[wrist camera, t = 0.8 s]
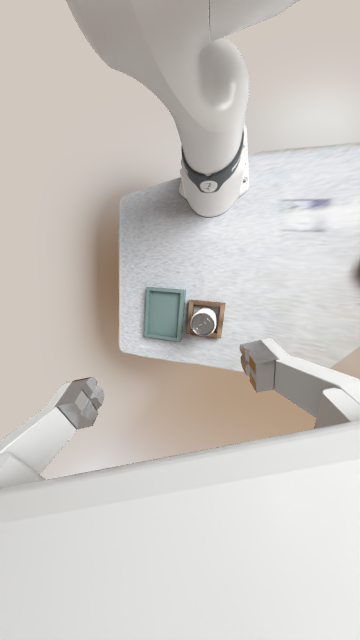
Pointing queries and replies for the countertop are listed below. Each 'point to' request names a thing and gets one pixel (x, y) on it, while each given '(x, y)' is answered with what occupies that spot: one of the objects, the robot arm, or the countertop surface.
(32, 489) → the robot arm
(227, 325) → the countertop surface
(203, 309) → the can
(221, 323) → the collar
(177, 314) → the tray
